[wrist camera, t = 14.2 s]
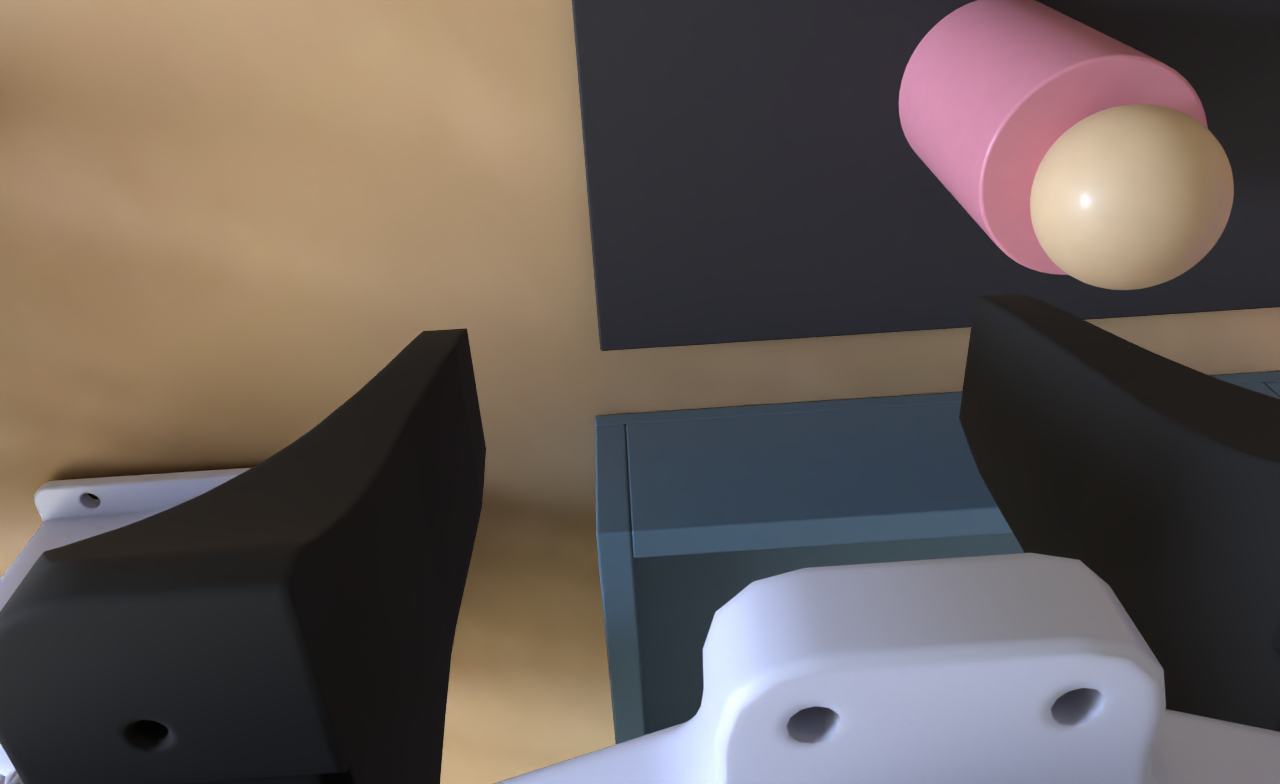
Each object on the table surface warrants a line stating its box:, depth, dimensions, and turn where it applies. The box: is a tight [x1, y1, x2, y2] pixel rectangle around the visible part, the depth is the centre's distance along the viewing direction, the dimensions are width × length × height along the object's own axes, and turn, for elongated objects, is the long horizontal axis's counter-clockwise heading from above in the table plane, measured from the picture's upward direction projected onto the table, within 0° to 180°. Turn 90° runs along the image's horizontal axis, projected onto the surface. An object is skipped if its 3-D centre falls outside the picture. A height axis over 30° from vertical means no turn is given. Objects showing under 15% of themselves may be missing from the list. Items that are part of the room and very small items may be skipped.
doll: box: [899, 0, 1234, 290], centre depth 19 cm, size 4×4×8 cm
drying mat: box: [572, 0, 1280, 351], centre depth 22 cm, size 18×12×1 cm, turn 93°
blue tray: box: [595, 371, 1280, 744], centre depth 29 cm, size 19×18×5 cm
